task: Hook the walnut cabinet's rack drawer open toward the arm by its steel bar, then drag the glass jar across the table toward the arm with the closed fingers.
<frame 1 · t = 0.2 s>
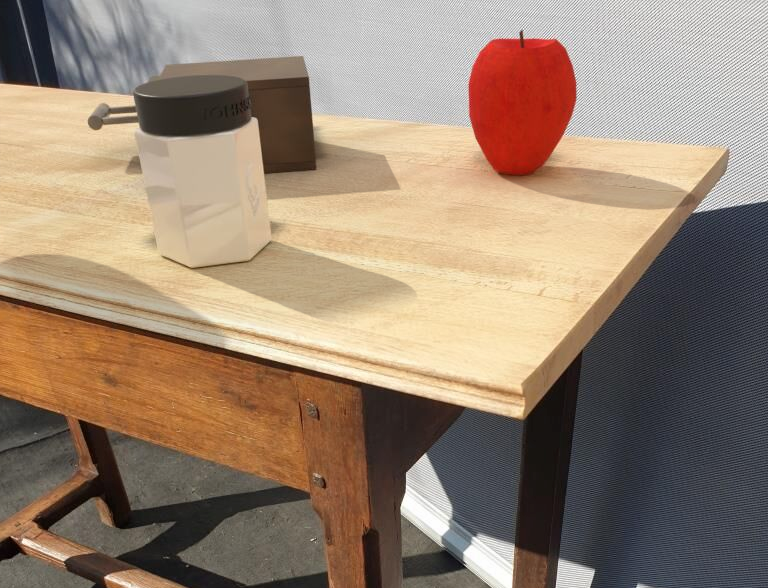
drawer: (189, 119, 86), point 4 cm above the table, slide at 0.5 cm
jar: (216, 250, 66), on the table
cabinet: (245, 158, 88), on the table
apple: (517, 172, 81), on the table
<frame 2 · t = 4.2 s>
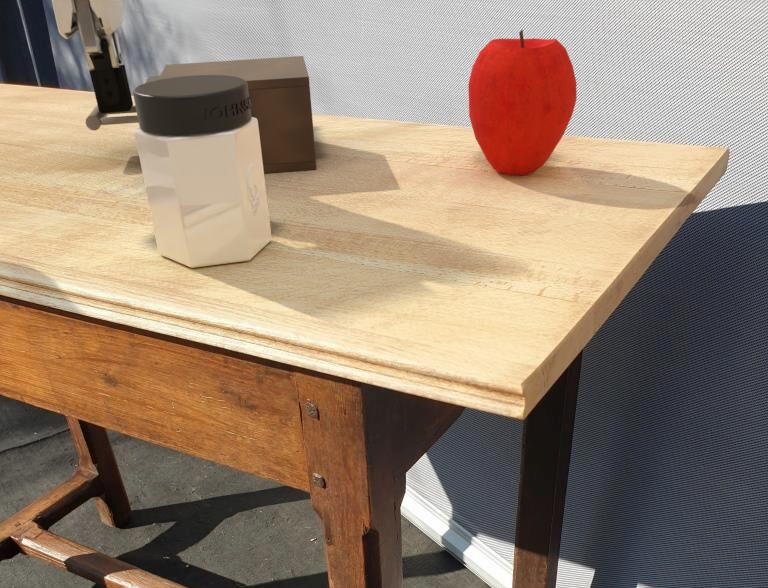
hand: (116, 110, 84), 6 cm above the table, tool pointing down, fingers closed
drawer: (187, 119, 86), point 4 cm above the table, slide at 0.7 cm, touching gripper
everything else where it was.
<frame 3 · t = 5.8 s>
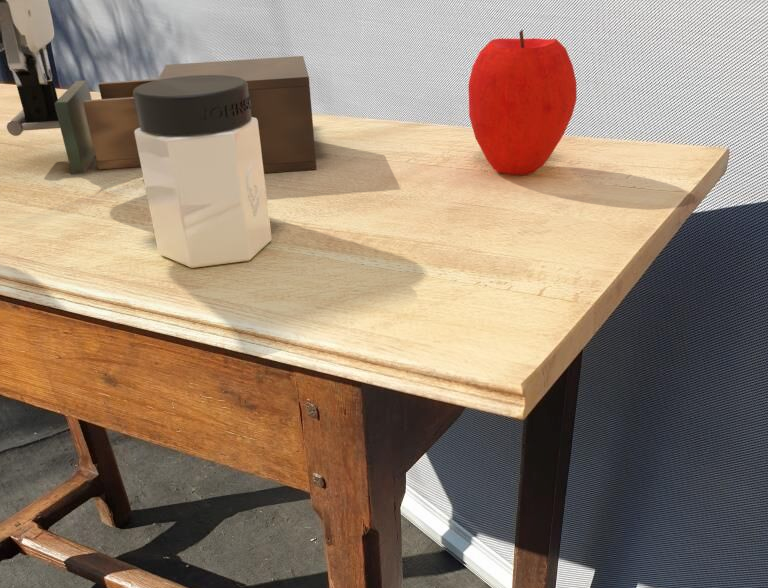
hand: (46, 126, 84), 5 cm above the table, tool pointing down, fingers closed
drawer: (113, 124, 85), point 4 cm above the table, slide at 8.3 cm
everything else where it was.
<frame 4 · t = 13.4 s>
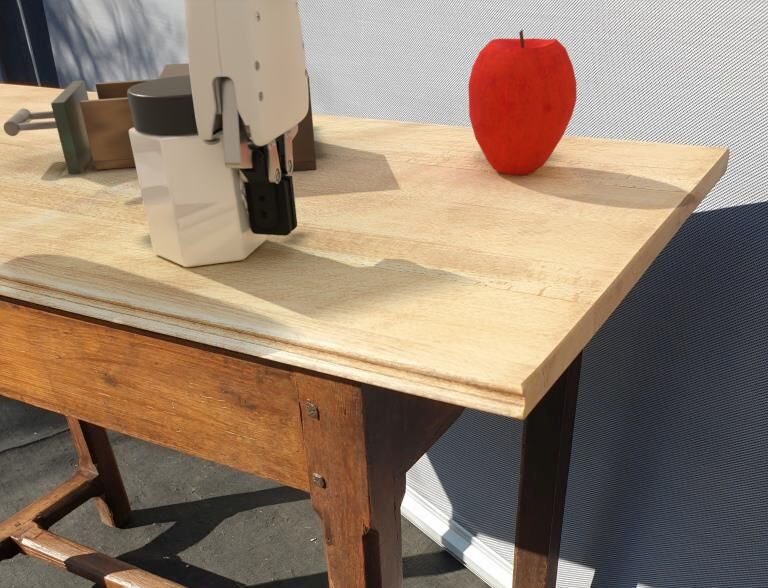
hand: (274, 230, 64), 2 cm above the table, tool pointing down, fingers closed
drawer: (109, 124, 85), point 4 cm above the table, slide at 8.6 cm
jar: (211, 250, 66), on the table, touching gripper
everything else where it was.
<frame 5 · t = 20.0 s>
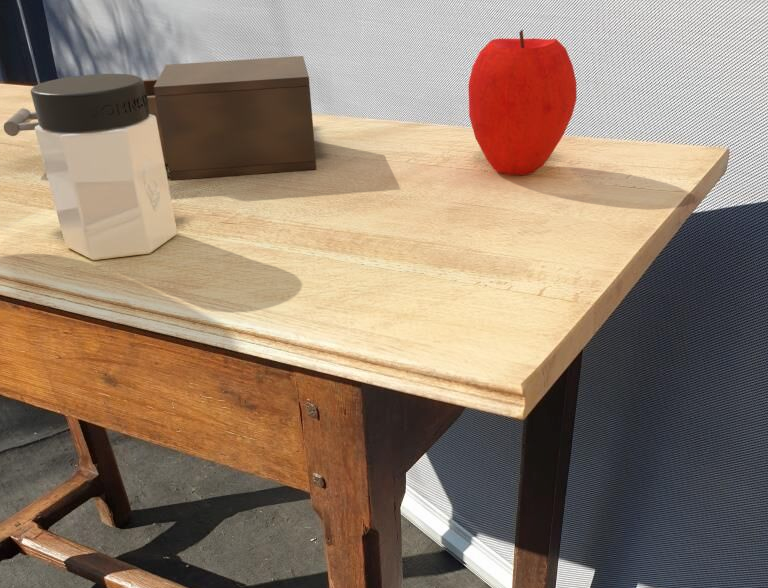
jar: (123, 243, 68), on the table
everything else where it was.
at the end: drawer slide at 8.6 cm; jar inside the target area (2.9 cm from its centre), on the table; jar tilted 0° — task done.
